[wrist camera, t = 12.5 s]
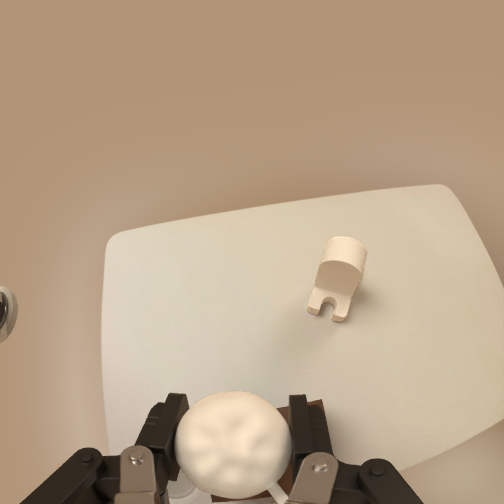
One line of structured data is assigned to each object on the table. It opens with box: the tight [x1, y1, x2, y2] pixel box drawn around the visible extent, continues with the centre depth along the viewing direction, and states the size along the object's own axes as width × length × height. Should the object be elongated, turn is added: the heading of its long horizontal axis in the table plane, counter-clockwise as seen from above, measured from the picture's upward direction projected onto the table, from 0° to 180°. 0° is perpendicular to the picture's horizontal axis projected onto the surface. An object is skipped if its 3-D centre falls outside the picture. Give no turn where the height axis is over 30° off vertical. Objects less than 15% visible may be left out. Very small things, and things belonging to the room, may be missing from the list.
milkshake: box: [174, 391, 292, 504], centre depth 13 cm, size 4×5×10 cm
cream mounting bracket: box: [307, 236, 367, 322], centre depth 39 cm, size 5×10×10 cm, turn 159°
